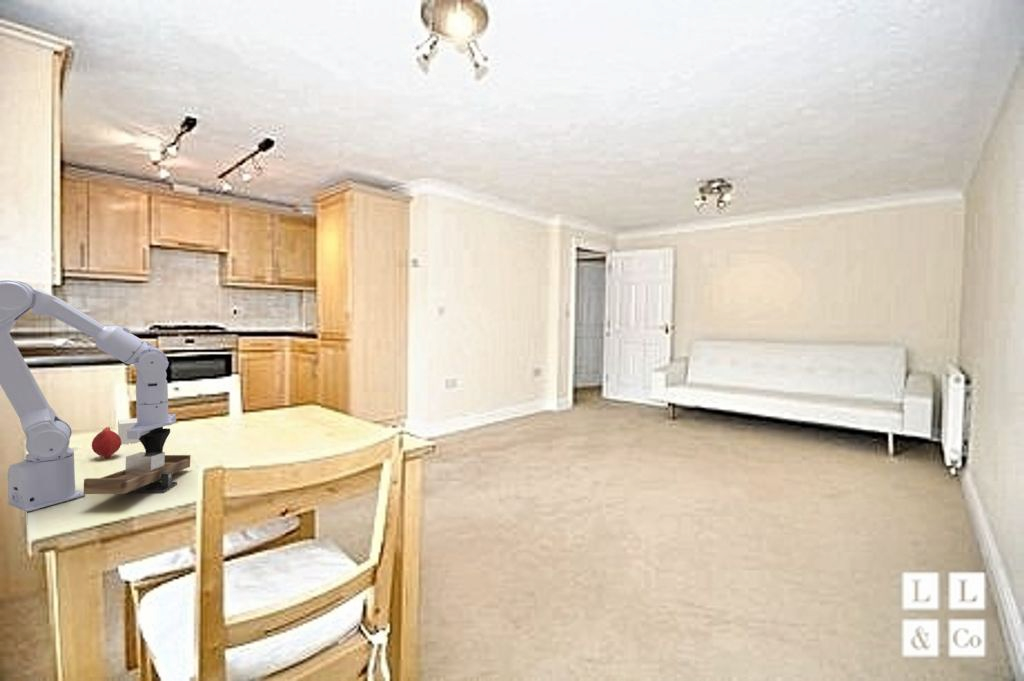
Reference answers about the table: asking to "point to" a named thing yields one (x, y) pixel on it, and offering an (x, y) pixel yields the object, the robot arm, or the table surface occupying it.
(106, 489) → the balance beam
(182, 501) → the table surface
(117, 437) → the onion
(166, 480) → the beam stand
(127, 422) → the white cube
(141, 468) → the block
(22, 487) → the robot arm
